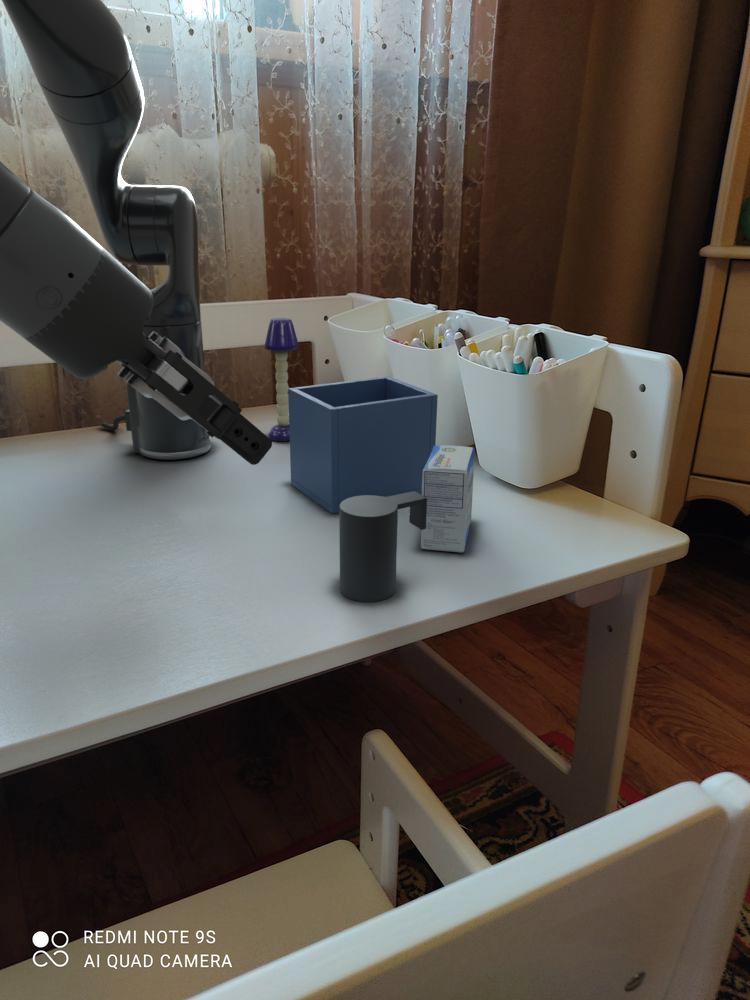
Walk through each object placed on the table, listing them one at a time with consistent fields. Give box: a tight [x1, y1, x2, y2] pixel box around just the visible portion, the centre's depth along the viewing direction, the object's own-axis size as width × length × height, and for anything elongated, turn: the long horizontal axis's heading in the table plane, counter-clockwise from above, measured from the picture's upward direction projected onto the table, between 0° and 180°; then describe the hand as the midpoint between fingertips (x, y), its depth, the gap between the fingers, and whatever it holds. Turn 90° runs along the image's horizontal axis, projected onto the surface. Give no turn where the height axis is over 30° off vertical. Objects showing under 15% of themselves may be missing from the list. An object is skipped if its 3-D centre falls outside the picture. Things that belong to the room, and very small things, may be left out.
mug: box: [338, 491, 427, 603], centre depth 68 cm, size 8×5×8 cm, turn 121°
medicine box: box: [420, 444, 476, 554], centre depth 78 cm, size 8×4×9 cm, turn 168°
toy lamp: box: [264, 317, 299, 442], centre depth 108 cm, size 5×5×17 cm
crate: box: [287, 375, 439, 515], centre depth 90 cm, size 14×11×12 cm
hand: (240, 438), depth 58 cm, fingers open, 8 cm apart
